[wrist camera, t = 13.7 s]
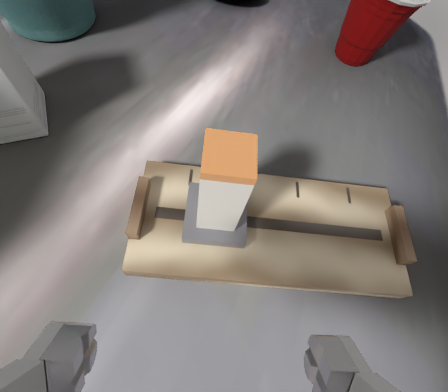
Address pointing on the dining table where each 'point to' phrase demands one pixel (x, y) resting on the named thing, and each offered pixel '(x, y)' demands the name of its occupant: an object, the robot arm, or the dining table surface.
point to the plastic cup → (371, 27)
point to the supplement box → (19, 96)
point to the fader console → (276, 236)
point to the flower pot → (49, 18)
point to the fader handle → (222, 190)
